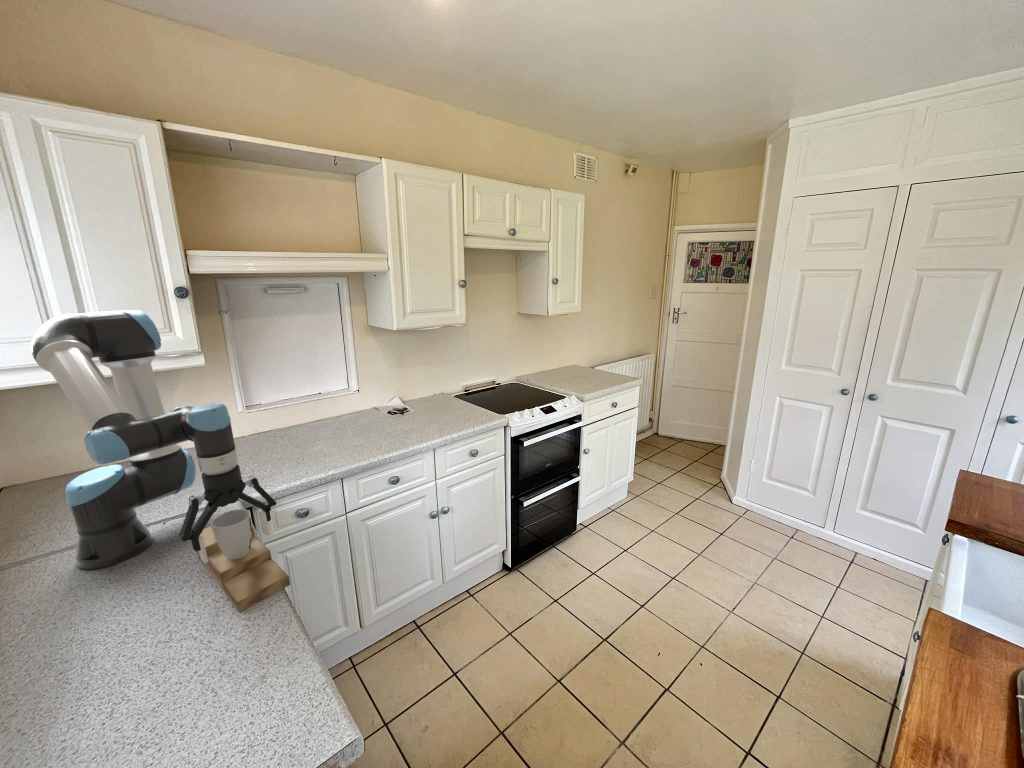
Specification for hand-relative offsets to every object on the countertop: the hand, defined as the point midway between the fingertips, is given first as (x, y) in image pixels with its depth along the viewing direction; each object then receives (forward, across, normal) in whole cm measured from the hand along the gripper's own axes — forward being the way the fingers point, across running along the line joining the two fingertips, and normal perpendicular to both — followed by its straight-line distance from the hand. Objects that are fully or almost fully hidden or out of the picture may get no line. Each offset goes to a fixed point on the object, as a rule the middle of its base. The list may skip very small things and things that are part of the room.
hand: (237, 546), depth 104 cm
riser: (+7, 0, 0) cm, 7 cm away
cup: (+2, 0, 0) cm, 2 cm away
